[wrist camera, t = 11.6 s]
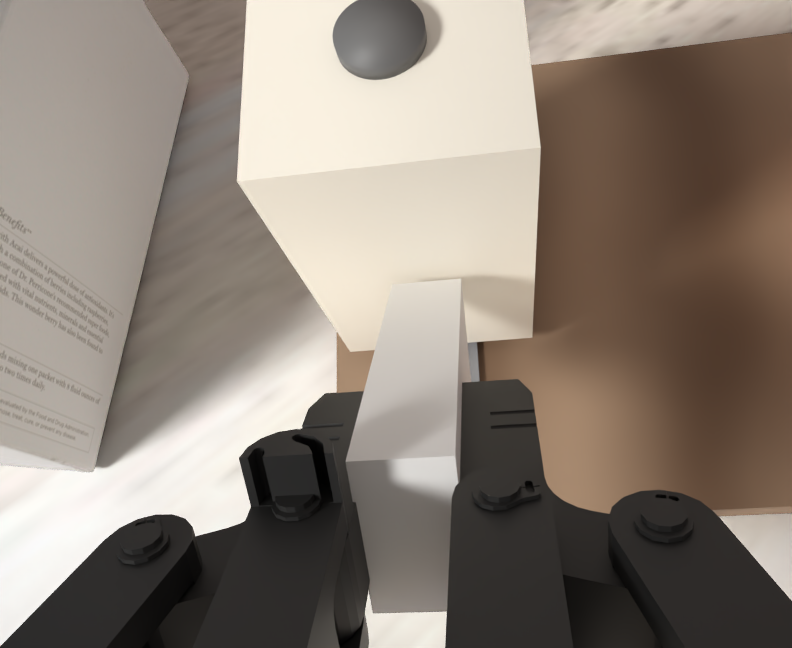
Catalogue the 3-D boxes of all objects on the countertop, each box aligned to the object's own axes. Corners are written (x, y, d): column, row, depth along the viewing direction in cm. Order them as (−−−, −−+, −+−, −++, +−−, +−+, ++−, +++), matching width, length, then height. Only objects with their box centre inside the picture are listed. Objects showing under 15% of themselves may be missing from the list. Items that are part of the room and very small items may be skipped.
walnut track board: (349, 533, 21) (335, 526, 19) (347, 119, 26) (335, 86, 24) (1143, 496, 18) (1204, 486, 17) (970, 43, 23) (1004, 1, 22)
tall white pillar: (350, 352, 21) (230, 171, 12) (348, 195, 23) (243, -58, 14) (532, 337, 20) (541, 136, 12) (516, 177, 22) (513, -100, 13)
